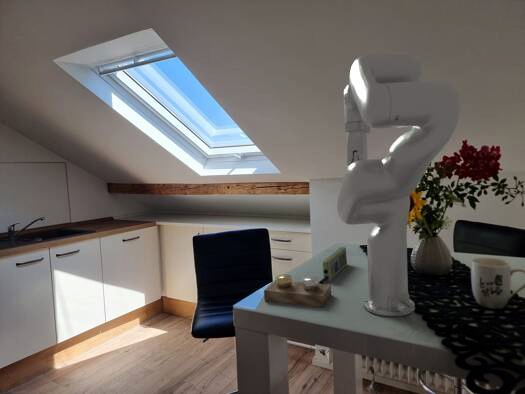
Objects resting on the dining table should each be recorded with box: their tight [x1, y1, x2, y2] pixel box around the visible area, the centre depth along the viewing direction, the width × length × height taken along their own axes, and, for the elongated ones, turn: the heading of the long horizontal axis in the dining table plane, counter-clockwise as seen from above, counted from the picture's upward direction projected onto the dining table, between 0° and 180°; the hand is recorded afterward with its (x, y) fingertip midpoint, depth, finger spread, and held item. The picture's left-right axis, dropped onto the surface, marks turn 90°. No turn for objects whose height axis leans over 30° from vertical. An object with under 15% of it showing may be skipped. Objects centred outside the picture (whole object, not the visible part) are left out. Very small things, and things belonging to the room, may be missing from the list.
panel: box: [263, 280, 332, 308], centre depth 105 cm, size 17×9×3 cm, turn 66°
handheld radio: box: [319, 247, 348, 284], centre depth 124 cm, size 7×3×25 cm
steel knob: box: [302, 275, 320, 291], centre depth 103 cm, size 4×4×6 cm
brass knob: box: [275, 273, 293, 288], centre depth 106 cm, size 4×4×6 cm
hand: (359, 188), depth 114 cm, fingers closed
